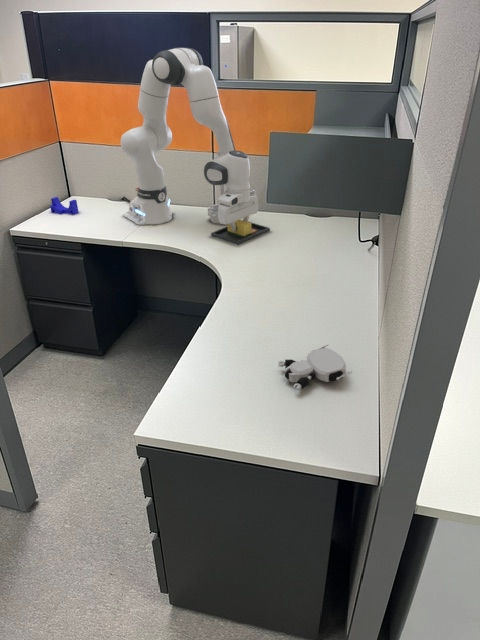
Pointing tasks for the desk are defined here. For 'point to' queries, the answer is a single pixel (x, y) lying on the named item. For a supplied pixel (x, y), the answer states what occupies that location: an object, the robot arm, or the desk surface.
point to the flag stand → (214, 211)
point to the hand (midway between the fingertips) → (239, 228)
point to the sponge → (241, 229)
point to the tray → (238, 240)
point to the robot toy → (315, 367)
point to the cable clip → (60, 209)
